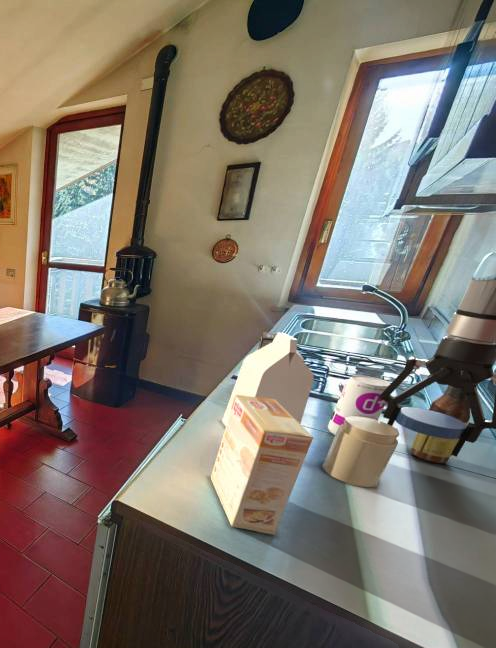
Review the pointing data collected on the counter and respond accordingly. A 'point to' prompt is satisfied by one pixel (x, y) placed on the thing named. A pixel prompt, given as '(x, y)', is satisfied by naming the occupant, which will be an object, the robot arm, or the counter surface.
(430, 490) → the counter surface
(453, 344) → the robot arm
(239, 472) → the coffeecake box
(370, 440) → the jar
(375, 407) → the supplement can
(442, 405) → the sauce bottle
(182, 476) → the counter surface
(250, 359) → the milk
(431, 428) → the lid
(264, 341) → the coffee box
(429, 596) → the counter surface
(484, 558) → the counter surface
